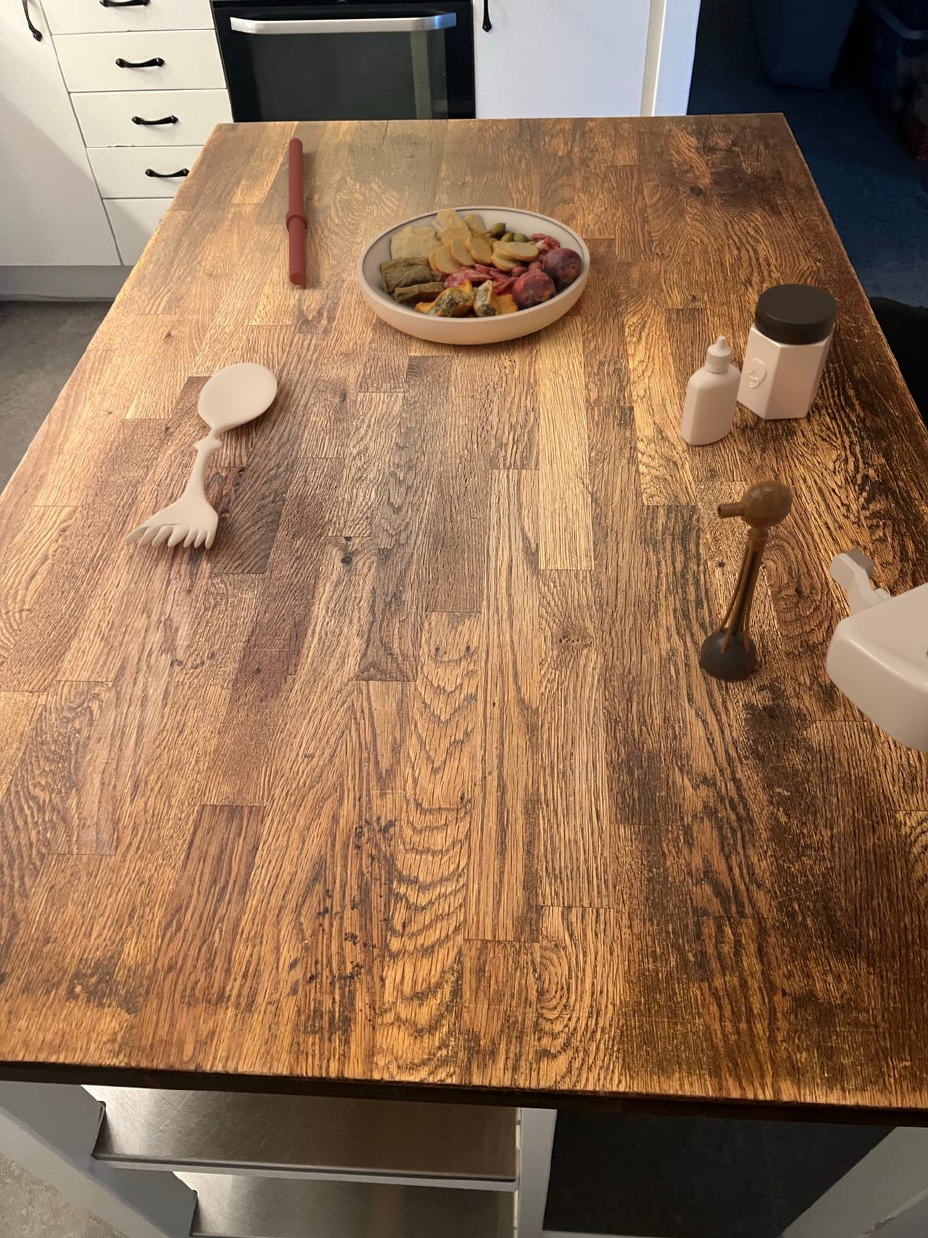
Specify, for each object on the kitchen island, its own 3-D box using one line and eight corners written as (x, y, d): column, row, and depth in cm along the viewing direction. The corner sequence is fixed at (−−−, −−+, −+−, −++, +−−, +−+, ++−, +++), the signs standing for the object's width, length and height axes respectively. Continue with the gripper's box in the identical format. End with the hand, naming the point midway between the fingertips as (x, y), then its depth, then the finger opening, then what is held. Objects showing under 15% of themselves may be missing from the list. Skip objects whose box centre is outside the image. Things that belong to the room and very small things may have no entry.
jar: (721, 392, 110) (738, 296, 101) (774, 368, 113) (795, 273, 104) (776, 431, 105) (799, 334, 96) (831, 405, 108) (858, 308, 99)
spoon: (130, 564, 96) (119, 539, 93) (215, 379, 117) (208, 354, 114) (217, 567, 95) (209, 542, 92) (288, 380, 116) (282, 355, 113)
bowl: (325, 338, 122) (315, 280, 116) (409, 229, 141) (404, 175, 135) (553, 373, 114) (555, 313, 109) (610, 253, 133) (614, 196, 127)
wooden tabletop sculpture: (696, 686, 82) (733, 510, 67) (681, 645, 85) (713, 468, 71) (763, 677, 83) (815, 500, 68) (745, 637, 86) (791, 459, 71)
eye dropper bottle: (677, 422, 107) (691, 325, 98) (728, 422, 106) (747, 325, 98) (680, 446, 104) (695, 349, 95) (733, 447, 104) (753, 349, 95)
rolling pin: (311, 288, 130) (307, 266, 128) (288, 290, 130) (283, 268, 128) (306, 153, 161) (303, 133, 158) (288, 155, 160) (284, 135, 158)
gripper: (1268, 582, 50) (1052, 439, 58) (967, 732, 44) (777, 550, 53) (1205, 660, 54) (1013, 517, 63) (925, 804, 49) (757, 626, 58)
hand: (903, 533), depth 58 cm, fingers open, 8 cm apart
